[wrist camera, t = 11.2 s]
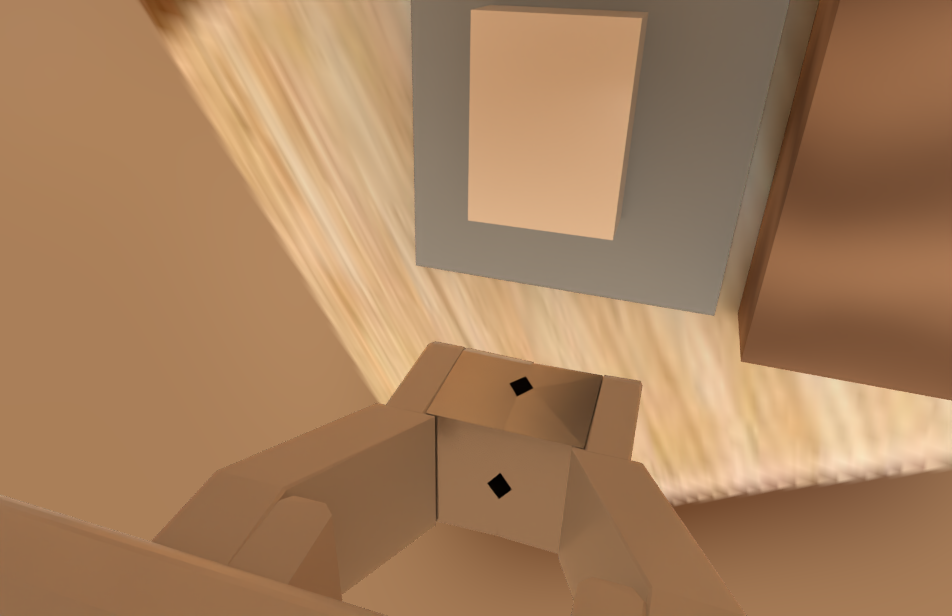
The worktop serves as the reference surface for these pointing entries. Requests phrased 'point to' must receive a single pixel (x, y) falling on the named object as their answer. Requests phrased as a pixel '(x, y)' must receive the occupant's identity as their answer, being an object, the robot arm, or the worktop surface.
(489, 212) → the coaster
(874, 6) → the brown flat wooden block
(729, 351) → the worktop surface
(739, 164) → the mat
